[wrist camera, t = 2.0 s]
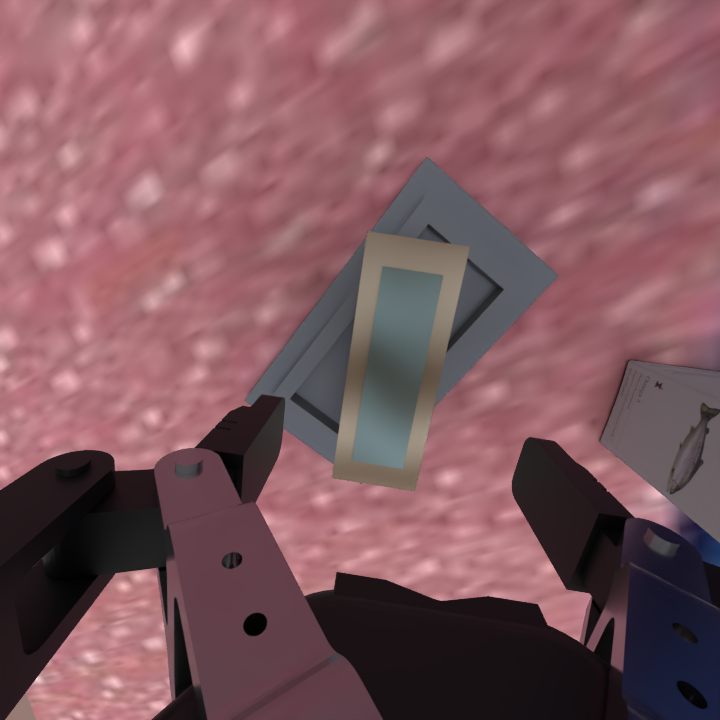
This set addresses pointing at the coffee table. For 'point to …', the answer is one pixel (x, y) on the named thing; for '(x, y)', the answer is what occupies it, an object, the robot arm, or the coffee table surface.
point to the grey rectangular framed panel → (471, 320)
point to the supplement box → (671, 435)
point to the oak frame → (396, 357)
